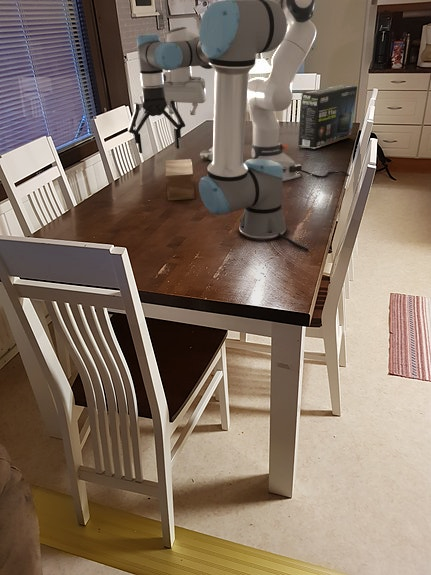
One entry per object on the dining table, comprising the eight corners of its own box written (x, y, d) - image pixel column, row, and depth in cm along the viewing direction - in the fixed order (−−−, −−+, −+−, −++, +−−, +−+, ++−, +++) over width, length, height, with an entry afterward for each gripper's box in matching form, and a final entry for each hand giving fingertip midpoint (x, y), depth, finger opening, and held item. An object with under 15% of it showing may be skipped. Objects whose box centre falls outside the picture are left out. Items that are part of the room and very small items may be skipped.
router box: (314, 151, 231) (318, 94, 217) (296, 148, 237) (299, 92, 224) (352, 138, 251) (358, 85, 238) (335, 135, 258) (340, 83, 245)
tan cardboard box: (168, 183, 196) (166, 160, 191) (192, 182, 197) (190, 159, 191) (167, 200, 178) (165, 175, 173) (194, 198, 179) (193, 174, 174)
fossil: (226, 156, 214) (204, 136, 217) (214, 175, 220) (193, 155, 224) (245, 154, 228) (224, 134, 231) (233, 171, 234) (214, 152, 237)
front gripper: (185, 82, 161) (189, 143, 172) (114, 88, 154) (122, 151, 165) (191, 84, 155) (195, 148, 166) (117, 91, 148) (126, 156, 159)
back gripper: (208, 75, 174) (209, 114, 181) (160, 74, 181) (163, 111, 188) (201, 77, 169) (202, 117, 176) (152, 76, 176) (156, 114, 183)
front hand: (159, 150), depth 165 cm, fingers open, 13 cm apart
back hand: (182, 114), depth 182 cm, fingers open, 8 cm apart
